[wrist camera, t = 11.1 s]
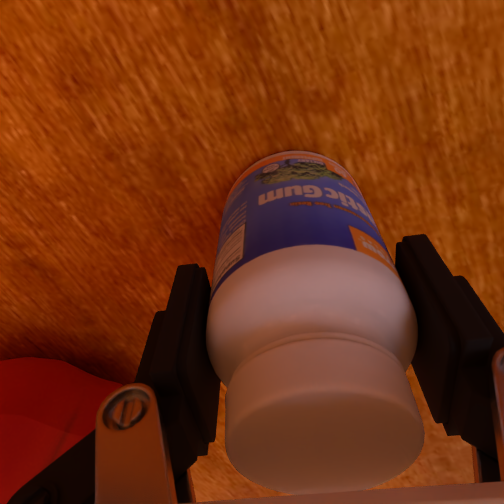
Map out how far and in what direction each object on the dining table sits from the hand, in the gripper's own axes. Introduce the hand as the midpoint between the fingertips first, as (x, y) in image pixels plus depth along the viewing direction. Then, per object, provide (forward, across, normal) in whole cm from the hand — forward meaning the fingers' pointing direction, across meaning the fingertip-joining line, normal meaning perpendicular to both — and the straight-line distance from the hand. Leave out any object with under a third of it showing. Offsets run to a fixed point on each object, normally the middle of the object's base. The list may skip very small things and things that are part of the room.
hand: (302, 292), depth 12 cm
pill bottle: (+5, 0, 0) cm, 5 cm away
